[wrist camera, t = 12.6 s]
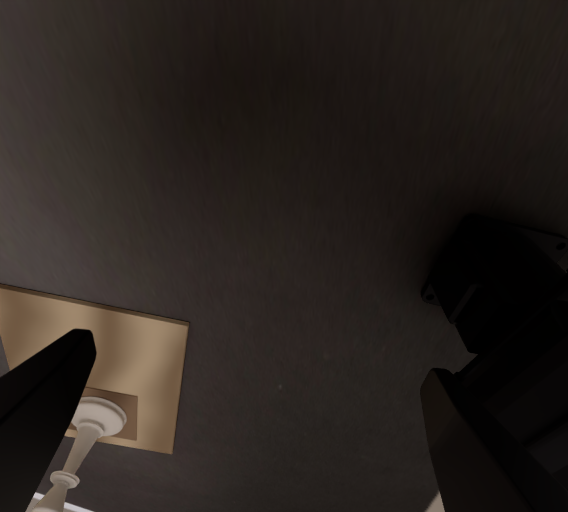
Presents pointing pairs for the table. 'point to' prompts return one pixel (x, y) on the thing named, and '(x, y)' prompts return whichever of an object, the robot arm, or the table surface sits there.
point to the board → (108, 358)
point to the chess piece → (82, 446)
